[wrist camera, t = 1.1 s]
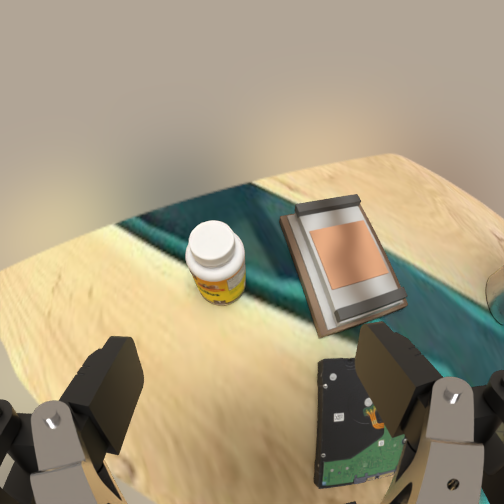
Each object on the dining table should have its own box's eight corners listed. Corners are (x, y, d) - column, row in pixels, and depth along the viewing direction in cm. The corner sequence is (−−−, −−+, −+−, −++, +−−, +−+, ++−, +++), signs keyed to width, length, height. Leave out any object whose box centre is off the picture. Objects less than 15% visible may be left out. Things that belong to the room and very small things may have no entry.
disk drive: (314, 362, 28) (312, 483, 21) (320, 358, 26) (318, 491, 19) (395, 355, 28) (396, 468, 21) (406, 350, 26) (407, 471, 18)
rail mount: (356, 207, 38) (364, 189, 35) (403, 308, 31) (419, 296, 27) (279, 221, 37) (281, 202, 33) (319, 338, 29) (328, 330, 26)
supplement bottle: (189, 285, 32) (166, 240, 23) (222, 255, 34) (212, 202, 25) (222, 316, 30) (209, 281, 22) (256, 283, 32) (257, 236, 24)
